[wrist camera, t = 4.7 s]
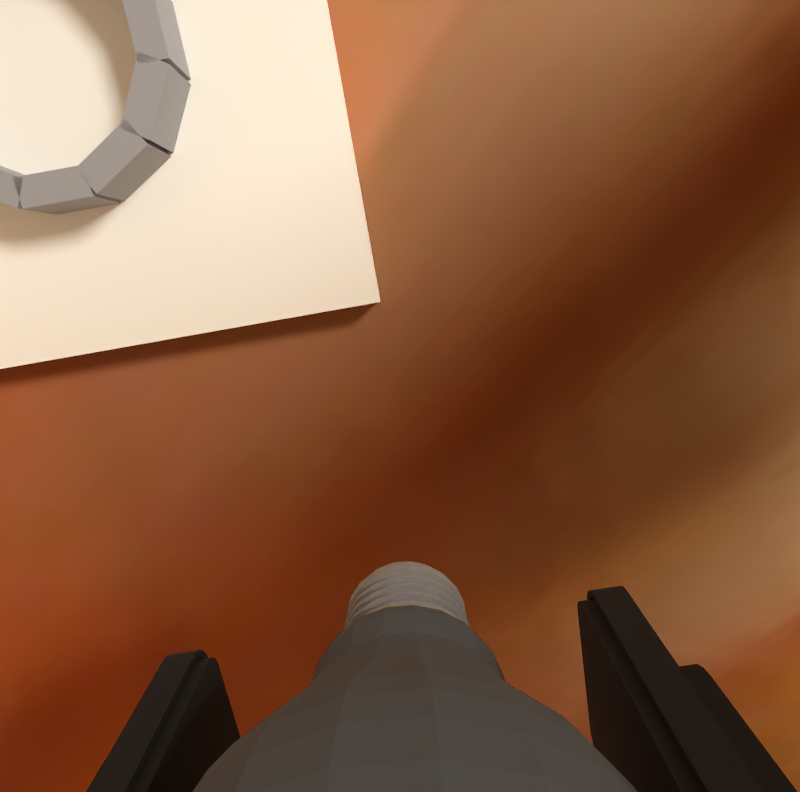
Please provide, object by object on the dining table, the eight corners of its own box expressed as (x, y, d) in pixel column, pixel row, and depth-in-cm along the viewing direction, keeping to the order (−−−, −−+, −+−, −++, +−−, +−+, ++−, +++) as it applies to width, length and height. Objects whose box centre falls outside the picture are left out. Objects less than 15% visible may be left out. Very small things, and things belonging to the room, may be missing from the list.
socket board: (272, -304, 18) (246, -437, 15) (380, 299, 23) (379, 305, 19) (-312, -192, 18) (-471, -297, 15) (-87, 382, 23) (-169, 402, 19)
